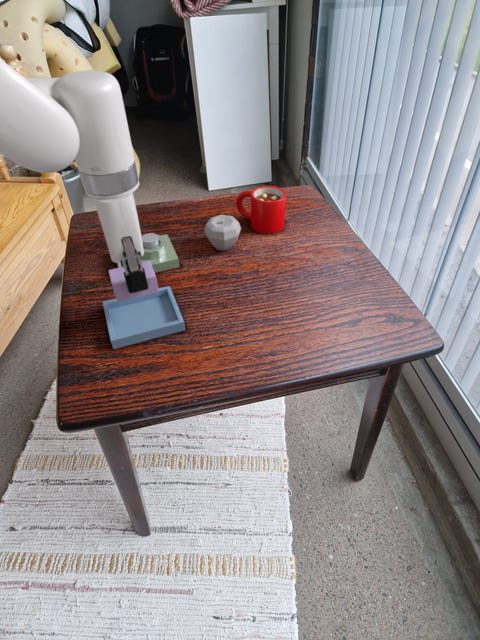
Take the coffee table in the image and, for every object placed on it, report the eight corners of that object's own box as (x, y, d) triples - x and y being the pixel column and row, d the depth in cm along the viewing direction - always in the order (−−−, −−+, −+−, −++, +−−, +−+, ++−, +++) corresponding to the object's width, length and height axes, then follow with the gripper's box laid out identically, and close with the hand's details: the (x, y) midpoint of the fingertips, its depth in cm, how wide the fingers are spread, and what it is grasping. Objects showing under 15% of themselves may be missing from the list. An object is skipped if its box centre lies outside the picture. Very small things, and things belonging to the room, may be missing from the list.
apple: (204, 237, 95) (202, 211, 91) (239, 234, 96) (238, 208, 91) (206, 258, 90) (204, 231, 85) (243, 255, 90) (243, 228, 86)
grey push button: (143, 251, 86) (142, 244, 84) (140, 242, 88) (138, 234, 87) (161, 247, 86) (159, 240, 85) (157, 238, 89) (156, 231, 88)
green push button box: (121, 280, 85) (117, 264, 82) (114, 253, 91) (110, 238, 89) (179, 267, 87) (177, 251, 85) (168, 242, 94) (166, 226, 91)
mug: (242, 210, 104) (241, 180, 98) (288, 219, 100) (290, 188, 95) (229, 226, 99) (228, 195, 93) (277, 236, 95) (279, 204, 90)
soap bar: (117, 302, 69) (112, 286, 66) (112, 286, 72) (108, 270, 69) (159, 292, 71) (155, 276, 68) (153, 276, 74) (149, 260, 71)
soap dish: (113, 349, 71) (110, 341, 70) (105, 310, 78) (102, 301, 77) (185, 330, 74) (184, 321, 73) (171, 293, 81) (169, 285, 80)
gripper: (76, 157, 62) (106, 258, 75) (88, 211, 51) (121, 319, 63) (126, 149, 64) (147, 249, 77) (149, 199, 52) (169, 307, 65)
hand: (135, 280), depth 70 cm, fingers closed on soap bar, 4 cm apart
